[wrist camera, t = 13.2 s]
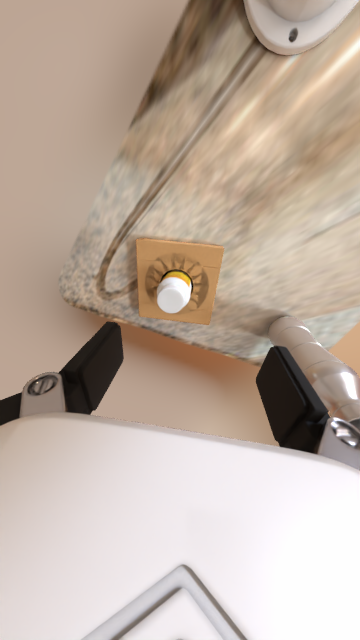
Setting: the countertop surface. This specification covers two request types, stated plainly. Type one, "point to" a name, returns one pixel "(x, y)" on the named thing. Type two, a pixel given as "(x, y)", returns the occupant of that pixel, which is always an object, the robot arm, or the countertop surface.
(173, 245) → the socket pad
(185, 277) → the supplement bottle
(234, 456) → the robot arm
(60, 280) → the countertop surface
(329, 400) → the plastic bottle
